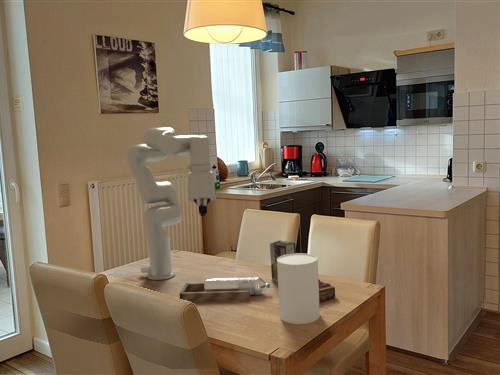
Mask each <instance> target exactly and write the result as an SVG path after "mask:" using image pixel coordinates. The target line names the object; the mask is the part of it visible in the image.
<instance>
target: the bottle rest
mask: <svg viewBox="0 0 500 375" xmlns="http://www.w3.org/2000/svg"><path fill="white" fill-rule="evenodd" d="M204 283H205V282H188V283H187V282H186V283H185V284H184V285H183V287H182V289H181V290H180V292H179V300H180V299H183V300H187V301H191V302H190V303H206V302H210V303H211V302H216V303H217V302H236V301H237V302H242V301H243V302H246V301H251V295H250V290H246V291H215V292H205V291H204Z"/></svg>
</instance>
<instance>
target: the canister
mask: <svg viewBox="0 0 500 375" xmlns="http://www.w3.org/2000/svg"><path fill="white" fill-rule="evenodd" d="M277 271H278V282H277V286H278V290H277V291H278V306H279V307H278V308H279V309H278V310H279V318H280V320H281V321H283V322H285V323H288V324H293V325H303V324H311V323H314V322H316V321H318V320H319V319H320V317H321V316H320V302H319V284H318V279H319V262H318V257H317V256H316V255H314V254H310V253H303V252H302V253H301V252H299V253H297V252H296V253H295V254H287V255H283V256H280V257H278V258H277Z"/></svg>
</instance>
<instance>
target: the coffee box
mask: <svg viewBox="0 0 500 375" xmlns="http://www.w3.org/2000/svg"><path fill="white" fill-rule="evenodd" d="M269 252H270V253H269V254H270V266H271V267H270V268H271V270H270V271H271V281H272V282H277V283H278V271H277V258H278V257H280V256H283V255H287V254H295V253H297V250H296V242H292V241H285V240H276V241H274V242H271V243H269Z"/></svg>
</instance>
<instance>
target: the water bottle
mask: <svg viewBox="0 0 500 375" xmlns="http://www.w3.org/2000/svg"><path fill="white" fill-rule="evenodd" d="M203 283H204V291H205V292H215V291H246V290H250V296H252V295H255V296H260V295H261V294H263V293H264V291H265V290H266V289H270V288H271V286H270V282H268V283H266V281H264V279H263V278H261V277H259V276H255V277H251V276H250V277H216V278H215V277H213V278H212V277H211V278H205V280H204V282H203Z"/></svg>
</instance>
